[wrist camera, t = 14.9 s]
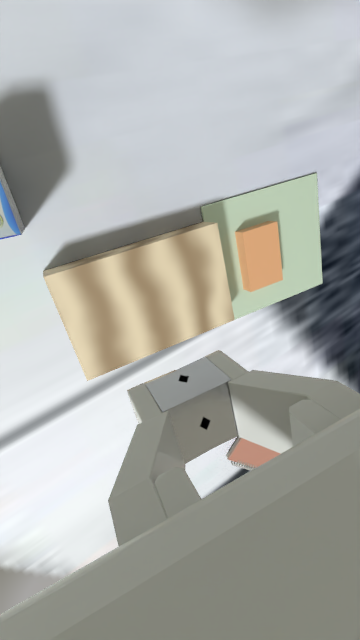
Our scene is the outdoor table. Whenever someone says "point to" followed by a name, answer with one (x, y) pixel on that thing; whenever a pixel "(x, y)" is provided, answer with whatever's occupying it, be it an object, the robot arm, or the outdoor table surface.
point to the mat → (294, 237)
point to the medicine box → (8, 212)
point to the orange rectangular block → (259, 255)
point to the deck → (142, 297)
